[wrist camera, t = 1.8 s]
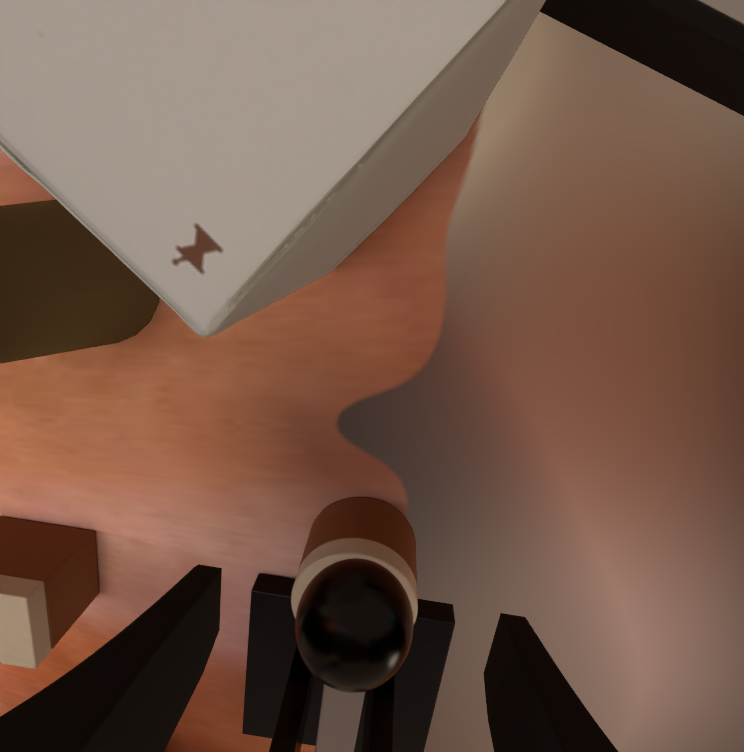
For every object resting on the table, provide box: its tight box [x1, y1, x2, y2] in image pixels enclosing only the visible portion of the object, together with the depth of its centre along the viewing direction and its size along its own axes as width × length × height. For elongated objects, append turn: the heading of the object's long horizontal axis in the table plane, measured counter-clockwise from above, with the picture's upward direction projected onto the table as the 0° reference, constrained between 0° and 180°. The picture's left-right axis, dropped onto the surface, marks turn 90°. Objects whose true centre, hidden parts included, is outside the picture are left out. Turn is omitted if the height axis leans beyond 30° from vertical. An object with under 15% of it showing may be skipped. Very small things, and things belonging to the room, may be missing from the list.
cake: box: [291, 497, 418, 623], centre depth 21 cm, size 5×5×4 cm
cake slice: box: [0, 516, 99, 669], centre depth 22 cm, size 4×5×4 cm
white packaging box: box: [0, 0, 546, 337], centre depth 11 cm, size 7×7×13 cm
